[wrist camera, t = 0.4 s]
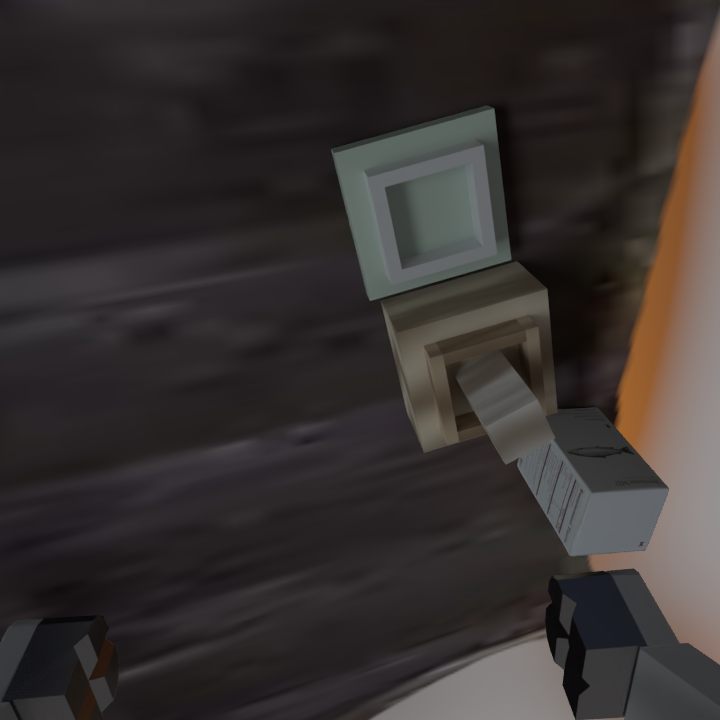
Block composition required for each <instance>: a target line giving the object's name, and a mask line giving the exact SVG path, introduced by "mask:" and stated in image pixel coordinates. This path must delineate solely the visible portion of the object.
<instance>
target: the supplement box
mask: <svg viewBox="0 0 720 720" xmlns="http://www.w3.org/2000/svg"><path fill="white" fill-rule="evenodd" d="M557 410H558V413H555V414H551V415H548V416H545V417H546V419H547V421H548V423H549V425H550V428H551V430H552V432H553V434H554V436H555V439H553V440H551V441H549V442H547V443H546V444H544V445H542V446H540V447H538V448H536V449H534V450H532V451H530V452H529V453H527V454H525V455H523V456H521V457H519V460H518V465H517V467H518V469H519V470H520V472H521V474H522V475H523V477H524V479H525V480H526V482H527V484H528V486H529V487H530V489H531V491H532V492H533V494H534V496H535V497H536V499H537V501H538V502H539V504H540V506H541V507H542V509H543V511H544V512H545V514H546V516H547V517H548V519H549V521H550V522H551V524H552V526H553V527H554V529H555V531H556V532H557V534H558V536H559V537H560V539H561V541H562V542H563V544H564V546H565V548H566V550H567V551H568V553H569V555H570V556H582V555H594V554H606V553H618V552H630V551H645V550H646V548H647V546H648V543H649V541H650V538H651V536H652V533H653V531H654V528H655V526H656V523H657V520H658V518H659V515H660V513H661V510H662V507H663V505H664V502H665V500H666V497H667V494H668V491H669V488H668V487H667V486H666V485H665V484H664V482H663V481H662V480H661V479H660V478H659V477H658V476H657V474H656V473H655V472H654V471H653V470H652V469H651V468H650V466H649V465H648V464H647V463H646V462H645V461H644V460H643V458H642V457H641V456H640V455H639V454H638V453H637V452H636V450H635V449H634V448H633V447H632V446H631V445H630V444H629V443H628V441H627V440H626V439H625V438H624V437H623V436H622V434H620V432H619V431H618V430H617V429H616V428H615V426H614V425H613V424H612V423H611V422H610V421H609V420H608V418H607V417H606V416H605V415H604V414H603V413H602V412H601V410H600V409H599V408H598V407H590V408H576V409H557Z"/></svg>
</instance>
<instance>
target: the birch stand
mask: <svg viewBox="0 0 720 720" xmlns="http://www.w3.org/2000/svg"><path fill="white" fill-rule="evenodd" d="M381 304H382V308H383V312H384V316H385V321H386V325H387V329H388V333H389V338H390V342H391V346H392V350H393V355H394V359H395V363H396V367H397V372H398V376H399V380H400V384H401V389H402V393H403V397H404V401H405V406H406V410H407V414H408V416H409V418H410V421H411V423H412V425H413V428H414V430H415V432H416V435H417V437H418V439H419V442H420V444H421V446H422V449H423V451H424V453H425V452H428V451H432V450H435V449H438V448H442V447H445V446H448V445H452V444H455V443H458V442H462V441H465V440H468V439H472V438H475V437H478V436H481V435H485V434H487V432H486V431H485V429H484V427H483V426H482V424H481V422H480V421H479V419H478V417H477V415H476V414H475V412H474V410H473V409H472V407H471V405H470V404H469V402H468V400H467V398H466V396H465V394H464V393H463V391H462V389H461V387H460V385H459V383H458V382H457V380H456V378H455V376H454V374H453V372H452V371H451V369H453V368H454V367H456V366H458V365H460V364H462V363H464V362H465V361H467V360H469V359H471V358H473V357H476V356H479V355H483V354H486V353H489V352H493V351H496V350H500V351H501V353H502V354H503V355H504V356H505V358H506V359H507V360H508V362H509V363H510V364H511V366H512V367H513V368H514V370H515V371H516V372H517V373H518V375H519V376H520V377H521V379H522V380H523V381H524V383H525V384H526V385H527V386H528V388H529V389H530V390H531V392H532V393H533V394H534V396H535V397H536V398H537V400H538V402H539V404H540V406H541V408H542V410H543V413H544V415H545V416H548V415H551V414H555V413H558V410H557V398H556V386H555V374H554V362H553V350H552V338H551V326H550V315H549V303H548V291H547V288H546V287H545V286H544V285H543V284H541V283H540V282H539V281H538V280H537V279H536V278H535V277H534V276H533V275H532V274H531V273H529V272H528V271H527V270H526V269H525V268H524V267H523V266H522V265H521V264H520V263H519V262H518V261H516V262H513V263H509V264H506V265H502V266H499V267H495V268H492V269H488V270H485V271H482V272H478V273H475V274H471V275H468V276H464V277H461V278H457V279H454V280H451V281H447V282H444V283H440V284H437V285H433V286H430V287H426V288H423V289H420V290H416V291H413V292H409V293H406V294H402V295H399V296H395V297H392V298H389V299H385V300H382V301H381Z"/></svg>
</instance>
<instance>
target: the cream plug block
mask: <svg viewBox="0 0 720 720" xmlns="http://www.w3.org/2000/svg"><path fill="white" fill-rule="evenodd" d="M451 371H452V372H453V374H454V376H455V378H456V380H457V382H458V383H459V385H460V387H461V389H462V391H463V393H464V394H465V396H466V398H467V400H468V402H469V404H470V405H471V407H472V409H473V410H474V412H475V414H476V415H477V417H478V419H479V421H480V422H481V424H482V426H483V427H484V429H485V431H486V432H487V434H488V436H489V437H490V439H491V441H492V442H493V444H494V446H495V448H496V449H497V451H498V453H499V454H500V456H501V458H502V459H503V461H504V463H505V464H508V463H510V462H512V461H513V460H515V459H517V458H519V457H521V456H523V455H525V454H527V453H529V452H530V451H532V450H534V449H536V448H538V447H540V446H542V445H544V444H546V443H547V442H549V441H551V440H553V439H555V436H554V434H553V432H552V430H551V428H550V425H549V423H548V421H547V419H546V417H545V415H544V413H543V410H542V408H541V406H540V404H539V402H538V400H537V398H536V397H535V396H534V394H533V393H532V392H531V390H530V389H529V388H528V386H527V385H526V384H525V383H524V381H523V380H522V379H521V377H520V376H519V375H518V373H517V372H516V371H515V370H514V368H513V367H512V366H511V364H510V363H509V362H508V360H507V359H506V358H505V356H504V355H503V354H502V353H501V351H500V350H496V351H493V352H489V353H486V354H483V355H479V356H476V357H473V358H471V359H469V360H467V361H465V362H464V363H462V364H460V365H458V366H456V367H454V368H453V369H451Z"/></svg>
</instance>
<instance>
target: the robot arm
mask: <svg viewBox="0 0 720 720" xmlns="http://www.w3.org/2000/svg"><path fill="white" fill-rule="evenodd" d="M548 592H549V595H550V597H551V600H552V603H551V604H550V605H549V606H548V607H547V608H546V618H545V623H546V633H547V639H548V643H549V647H550V651H551V653H552V656H553V659H554V662H555V663H556V664H558V665H559V666H560V667H561V668H562V669H564V677H563V687H564V690H565V693H566V695H567V698H568V701H569V703H570V706H571V709H572V711H573V714H574V717H575V720H584V719H602V718H619V717H625V719H624V720H720V665H719V664H717V663H716V662H715V661H713V660H712V659H710V658H709V657H707V656H706V655H705V654H703V653H702V652H700V651H699V650H697V649H696V648H694V647H693V646H691V645H690V644H689V643H682V644H680V643H679V641H678V640H677V638H676V636H675V634H674V633H673V631H672V629H671V627H670V626H669V624H668V622H667V621H666V619H665V617H664V615H663V614H662V612H661V610H660V608H659V607H658V605H657V603H656V602H655V600H654V598H653V596H652V595H651V593H650V591H649V589H648V588H647V586H646V584H645V582H644V581H643V579H642V577H641V576H640V574H639V572H637V571H636V570H635V569H624V570H614V571H613V570H612V571H606V572H605V571H598V572H587V573H577V574H567V575H557V576H552V577H551V579H550V580H549V587H548ZM108 629H109V628H108V625H107V623H106V621H105V618H104V616H102V615H92V616H74V617H57V618H44V619H30V620H16V621H15V622H14V623H13V624H12V625H11V626H10V627H9V628H8V629H7V631H6V633H5V635H4V637H3V639H2V641H1V643H0V720H104V719H103V716H102V714H101V712H102V711H103V710H104V709H105V708H106V707H107V706H108V705H109V704H110V703H111V702H112V701H113V699H114V696H115V692H116V689H117V685H118V676H119V659H118V653H117V650H116V647H115V645H114V644H113V643H111V642H110V641H108V640H107V639H105V637H106V635H107V632H108Z"/></svg>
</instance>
